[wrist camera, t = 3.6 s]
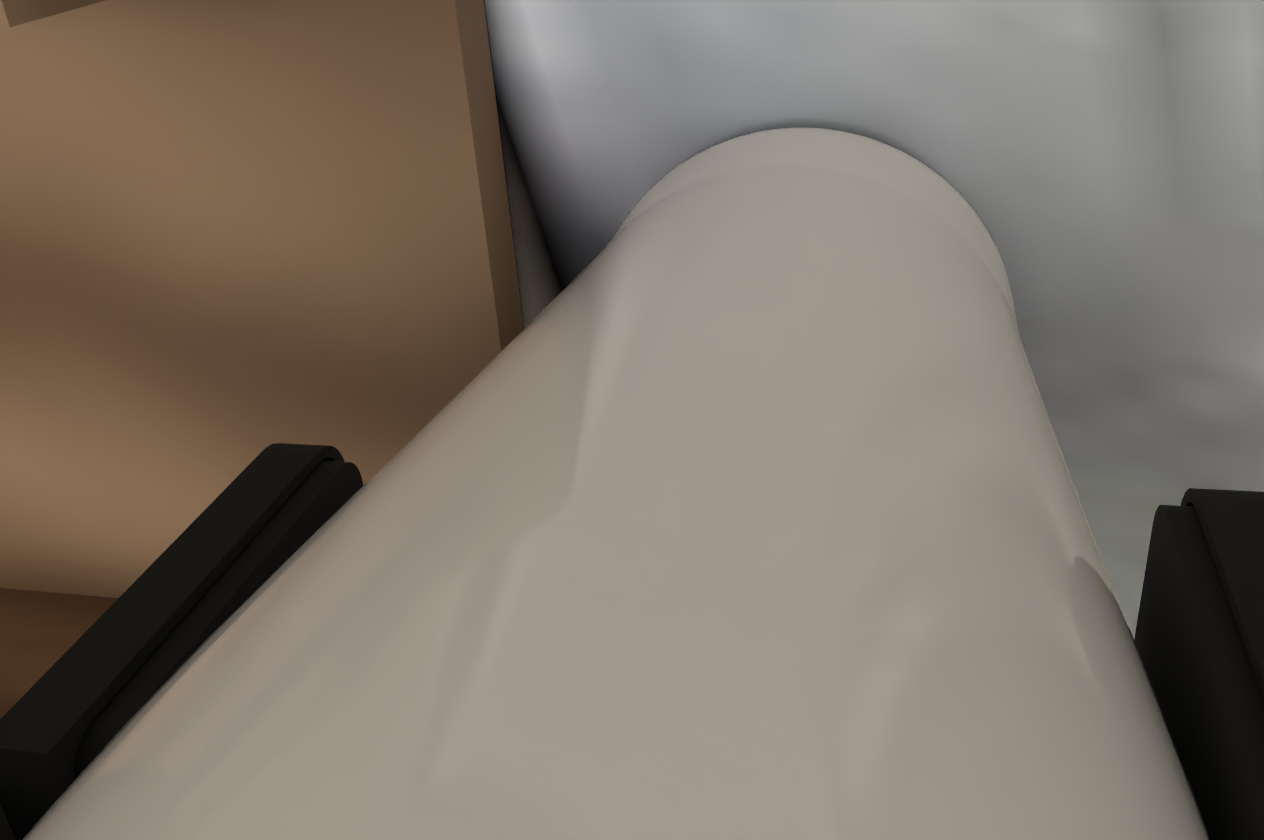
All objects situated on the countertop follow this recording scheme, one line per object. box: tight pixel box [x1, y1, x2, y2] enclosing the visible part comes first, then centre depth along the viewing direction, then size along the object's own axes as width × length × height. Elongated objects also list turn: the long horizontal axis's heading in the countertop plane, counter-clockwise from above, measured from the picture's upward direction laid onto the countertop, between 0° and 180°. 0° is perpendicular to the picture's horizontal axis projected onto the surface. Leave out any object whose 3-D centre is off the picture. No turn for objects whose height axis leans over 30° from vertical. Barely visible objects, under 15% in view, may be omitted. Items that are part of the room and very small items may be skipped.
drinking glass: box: [23, 127, 1210, 840], centre depth 10 cm, size 7×7×15 cm
